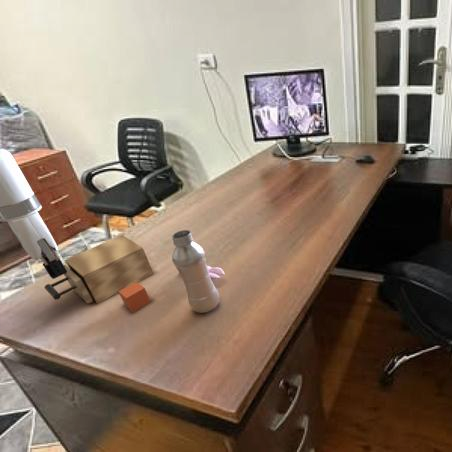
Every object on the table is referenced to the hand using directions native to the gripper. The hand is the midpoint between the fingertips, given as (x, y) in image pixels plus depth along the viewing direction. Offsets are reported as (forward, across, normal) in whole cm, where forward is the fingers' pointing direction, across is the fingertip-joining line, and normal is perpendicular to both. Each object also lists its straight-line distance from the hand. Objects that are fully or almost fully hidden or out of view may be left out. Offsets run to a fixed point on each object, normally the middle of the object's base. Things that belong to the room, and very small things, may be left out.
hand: (59, 274), depth 84 cm
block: (+9, +15, +9) cm, 20 cm away
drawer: (+8, 0, +6) cm, 10 cm away
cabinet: (+9, 0, +10) cm, 13 cm away
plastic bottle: (+9, +31, +18) cm, 37 cm away
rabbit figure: (+9, +21, +24) cm, 33 cm away
